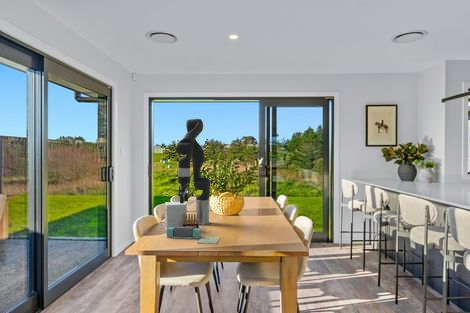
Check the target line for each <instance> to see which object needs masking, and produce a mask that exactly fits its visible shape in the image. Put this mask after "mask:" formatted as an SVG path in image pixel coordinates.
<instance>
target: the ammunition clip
mask: <svg viewBox="0 0 470 313" xmlns="http://www.w3.org/2000/svg"><path fill="white" fill-rule="evenodd" d="M182 227H194V229H195V228H200V225H199V219H198V213H197V218H196V212H194V214H193V213H191V214H190V213H188V214H187V213H186V219H185V215H184V214H183V225H182Z"/></svg>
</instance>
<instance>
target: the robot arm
mask: <svg viewBox="0 0 470 313" xmlns="http://www.w3.org/2000/svg"><path fill="white" fill-rule="evenodd" d="M185 124H186V125H185V126H186V127H185V128H186V133H185V135H184V136H183V138H182V139H180V140H179V141H178V142H177V143H176V145H175V149H174V150H175V152H176V153H177V155H186V156H185V157H183V158H182V157H181V158H179V159H178V167H177V168H178V169H177V170H178V171H177V184H179V186H178V193H177V194H178V197H179V202H180V203H182V204H183V203H185V202H189V195H190V184H191V177H192V181H193V187H194V189H195V190H196V191H202V192H201V193H200V194H198V195H196V197H195V198H196V199H195V205H196V206H195V215H196V218H197V213H198V219H199V226H200V225H201V226H203V225H210V195H211V194H210V193H211V180H210V178H209V177H201V170H202V169H201V168H202V167H203V165H204V162H205V152H204V148H203V147H202V146H201V144H200V143H199V142H198V140H197V138H198V136H199V135H200V134H201V133H202V132H203V130H204V122H203V120H202V119H200V118H194V119H193V118H192V119H187V120H186V123H185ZM191 165H192V166H191ZM191 167H192V176H191Z"/></svg>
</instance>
